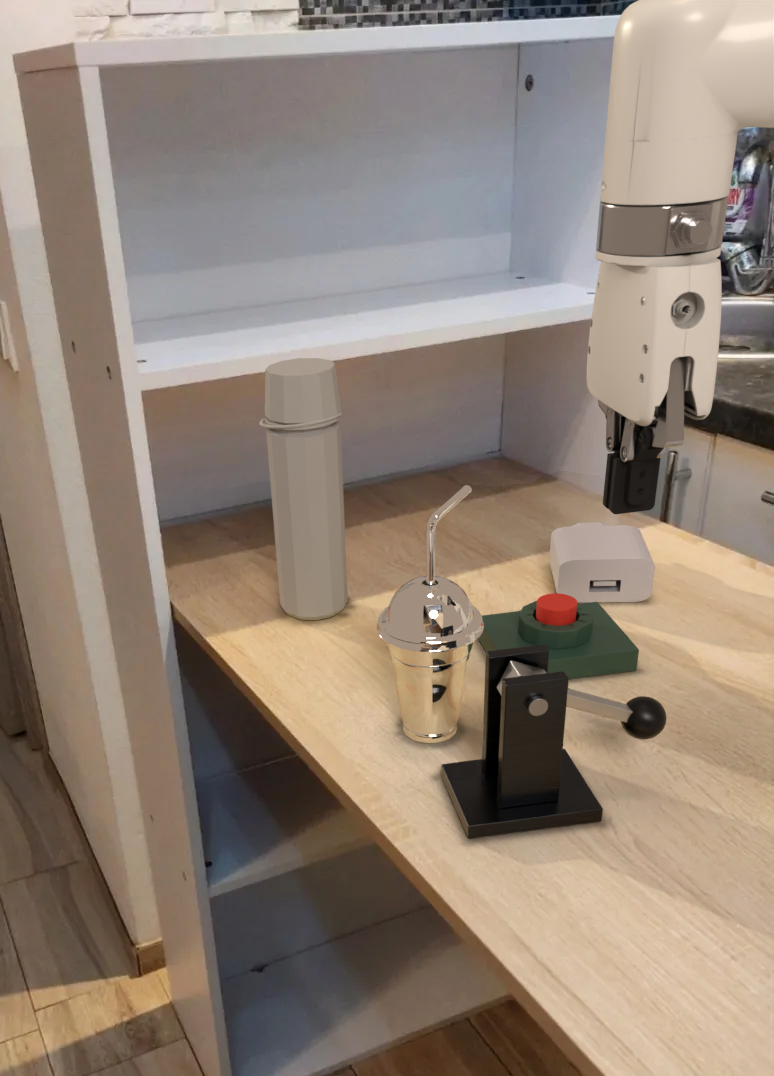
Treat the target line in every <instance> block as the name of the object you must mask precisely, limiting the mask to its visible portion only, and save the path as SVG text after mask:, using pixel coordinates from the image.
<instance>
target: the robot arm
mask: <svg viewBox="0 0 774 1076" xmlns="http://www.w3.org/2000/svg"><path fill="white" fill-rule="evenodd" d="M612 46H613V47H612V55H611V68H610V76H609V77H610V80H609V91H608V100H607V101H608V102H607V115H606V124H605V125H606V127H605V136H604V147H603V149H604V150H603V159H602V160H603V162H602V172H601V183H600V184H601V185H600V196H599V207H598V219H597V230H596V231H597V232H596V233H597V234H596V244H595V255H594V259H595V260H596V261H600V264H599V268H598V269H599V270H598V275H597V278H596V279H597V280H596V285H595V291H594V298H593V303H592V311H591V319H590V326H589V334H588V335H589V336H588V342H587V343H588V345H587V357H586V386H587V390H588V391H589V393H590V394H591V395H592V397H594V398H595V399H596V400H597V403H598V407H599V408H600V410H601V411H602V413H603V414H604V416H605V421H606V424H605V425H606V427H605V448H606V451H607V452H608V453H607V455H606V464H605V465H606V466H605V475H604V477H605V478H604V486H603V495H602V505H603V506H604V507H605V508H606V509H607V510H609V511H610V513H612V514H613V515H622V514H623V515H624V514H631V513H639V512H647V511H651V510H653V509H654V507H655V505H656V496H657V489H658V482H659V474H660V465H661V459H662V458H664V456H665V455H666V452H667V451H666V450H667V448H674V447H680V446H682V445H683V443H684V440H685V439H684V438H685V417H687V418H690V419H692V420H695V421H701V420H705V419H706V418H707V417H709V415H710V413H711V411H712V407H713V402H714V395H715V389H716V388H715V387H716V380H717V372H718V371H717V370H718V361H719V351H720V350H719V349H720V339H721V324H722V304H723V303H722V301H723V300H722V299H723V298H722V297H723V295H722V292H723V289H722V288H723V285H722V283H723V282H722V281H723V280H722V278H723V277H722V266H721V265H722V264H721V259H719V258H718V257H720V256H721V253H722V245H723V238H724V231H725V224H726V217H727V211H728V204H729V195H730V193H731V191H730V190H731V184H732V177H733V169H734V163H735V157H736V149H737V142H738V135H739V131H740V130H742V129H744V128H765V129H774V0H636V1H635V2H632V3H631V4H629V5H628V6H627V7H626V8H625V9H624V10H623V11H622V13H621V15H620V16H619V18H618V21H617V22H616V26H615V30H614V37H613V45H612Z"/></svg>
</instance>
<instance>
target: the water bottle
mask: <svg viewBox="0 0 774 1076" xmlns="http://www.w3.org/2000/svg"><path fill="white" fill-rule="evenodd" d="M342 415H343V411H342V405H341V398H340V391H339V384H338V377H337V369H336V363H335V362H333V361H332V360H330V359H325V358H319V357H299V358H292V359H284V360H279V361H277V362H273V363H271V364H269V365H268V366H267V367H266V368H265V370H264V416H265V417H263V418H261V419H260V420H259V422H258V425H259V426H261V427H262V428H266V429H265V431H266V432H265V434H266V444H267V457H268V469H269V483H270V494H271V507H272V519H273V531H274V541H275V542H274V544H275V545H274V546H275V555H276V567H277V569H276V570H277V579H278V592H279V593H278V594H279V604H280V606H281V608H282V609H283V611H284V612H285V613H286V614H287V616H288V617H289V616H290V617H292V618H295V619H297V620H303V621H319V620H324V619H330V618H332V617H334V616H336V615H337V614H339V613H341V612H342V611H343V610H344V609H345V608H346V605H347V603H348V600H349V594H348V593H349V592H348V591H349V590H348V569H347V567H348V566H347V545H346V520H345V501H344V500H345V499H344V498H345V497H344V477H343V476H344V474H343V473H344V472H343V453H342V450H343V449H342V429H341V428H342V427H341V425H342V424H341V422H339V419H340V418H341V416H342Z"/></svg>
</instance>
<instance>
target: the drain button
mask: <svg viewBox="0 0 774 1076" xmlns="http://www.w3.org/2000/svg"><path fill="white" fill-rule="evenodd" d="M536 601H537V606H536V620H537V621H539V622H541V623H544V624H547V625H556V626H561V625H569V624H571V623H574V622H575V621H576V614H577V600H576V599H575V598H573V597H572V596H569V595H566V594H559V593H557V592H556V593H555V592H554V593H547V594H543V595H541V596H539V597H538V598H537V599H536Z"/></svg>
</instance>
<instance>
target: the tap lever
mask: <svg viewBox="0 0 774 1076" xmlns="http://www.w3.org/2000/svg"><path fill="white" fill-rule="evenodd" d="M544 673H546V672H545V670H544V669H541V668H537V667H534V666H530V665H526V664H523V663H519V662H516V661H512V660H511V661H510V662H509V664H508V666H507V668H506V670H505V672H504V674H503V676H502V678H501V680H500V682H499V684H498V686H497V689H498V691H499V693H500V694H501V695H502V679H504V678H512V677H520V676H528V675H536V674H544ZM566 708H570V709H574V710H578V711H582V712H586V713H590V714H593V715H597V716H601V717H603V718H608V719H611V720H616V721H619V722H620V724H621V727H622V729H623V731H624V732H625V733H626V734H627V735H629V736H630V737H631V738H634V739H636V740H637V739H638V740H643V741H644V740H645V741H646V740H650V739H653V738H656V737H657V736H658V735H660V733H662V731H663V730H664V729H665V727H666V725H667V724H666V723H667V712H666V709H665V707H664V706H663V705H662V703H661V702H660V701H659V700H657V699H656V698H653V697H650V696H647V695H646V696H645V695H643V696H642V695H641V696H636V697H633V698H631V699H629V700H628V701H627V702H626V703H623V702H621V701H620V702H619V701H616V700H612V699H609V698H606V697H605V698H604V697H602V696H598V695H595V694H590V693H588V692H584V691H580V690H575V689H572V688H569V687H568V692H567V704H566Z"/></svg>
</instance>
